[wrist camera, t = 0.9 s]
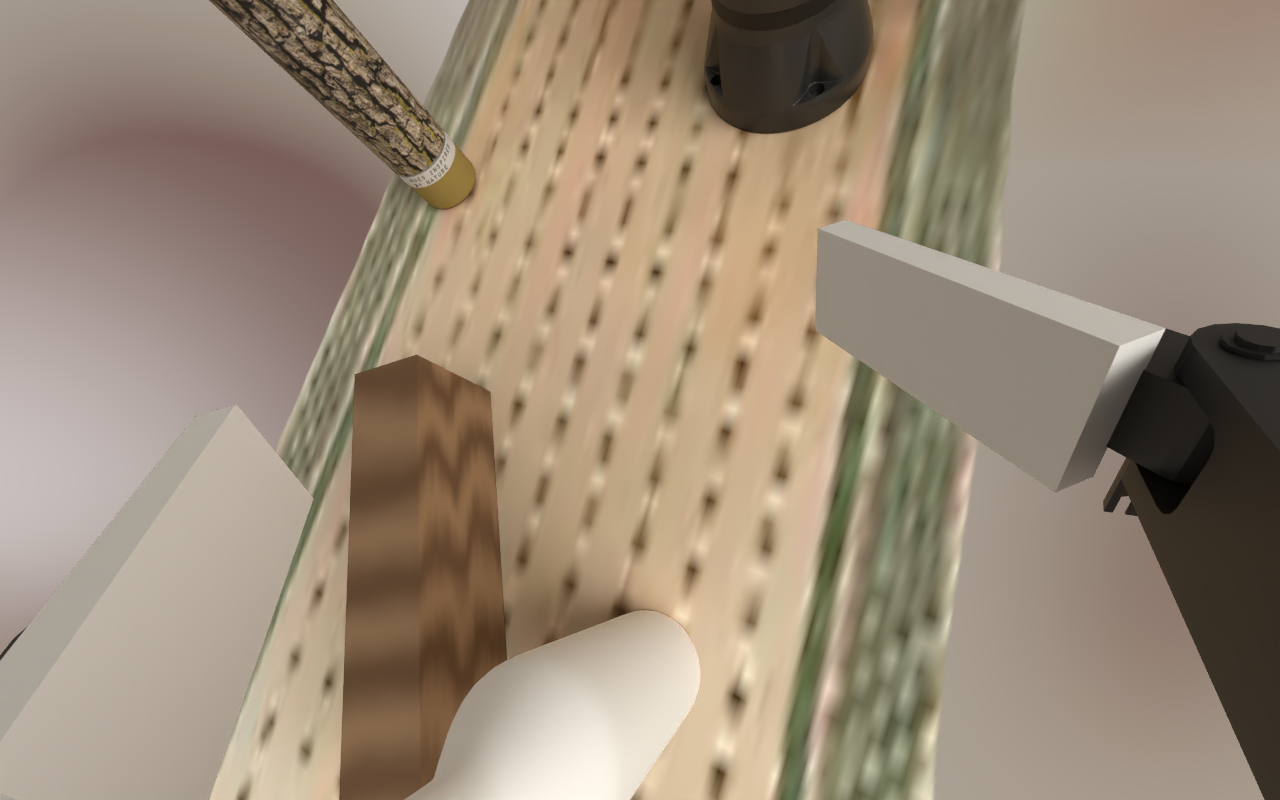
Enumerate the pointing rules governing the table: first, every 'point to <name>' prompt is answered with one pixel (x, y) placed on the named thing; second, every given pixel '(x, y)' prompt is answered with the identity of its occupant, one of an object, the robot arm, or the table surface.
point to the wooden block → (416, 572)
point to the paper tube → (357, 91)
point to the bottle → (572, 716)
